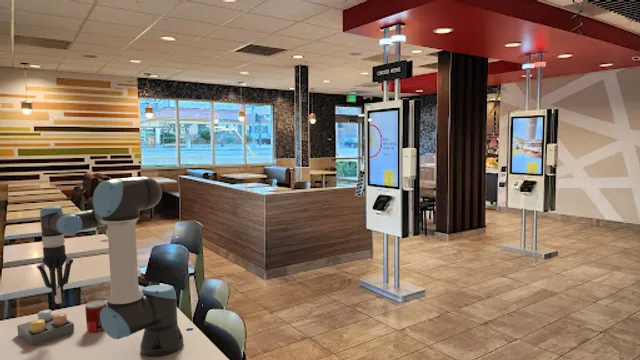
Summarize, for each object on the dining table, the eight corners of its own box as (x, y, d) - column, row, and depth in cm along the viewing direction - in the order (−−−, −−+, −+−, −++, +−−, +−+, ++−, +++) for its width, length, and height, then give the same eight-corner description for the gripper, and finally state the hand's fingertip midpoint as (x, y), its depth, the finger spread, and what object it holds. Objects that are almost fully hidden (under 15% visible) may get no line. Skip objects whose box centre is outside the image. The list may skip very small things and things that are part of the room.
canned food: (99, 333, 178) (98, 307, 177) (82, 332, 180) (80, 306, 179) (112, 325, 186) (110, 300, 185) (95, 324, 187) (93, 299, 186)
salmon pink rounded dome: (69, 323, 179) (68, 314, 179) (56, 327, 176) (55, 318, 175) (64, 320, 183) (63, 312, 182) (51, 324, 179) (50, 315, 179)
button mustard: (47, 330, 173) (46, 321, 173) (33, 334, 170) (32, 325, 169) (42, 326, 176) (42, 318, 176) (29, 331, 173) (28, 322, 172)
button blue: (53, 319, 183) (53, 311, 183) (40, 323, 180) (40, 315, 179) (49, 316, 186) (48, 308, 186) (36, 320, 183) (35, 312, 182)
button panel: (74, 332, 180) (73, 323, 179) (32, 346, 168) (31, 336, 168) (58, 322, 190) (57, 313, 190) (18, 335, 179) (17, 325, 178)
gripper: (67, 240, 183) (71, 295, 186) (31, 247, 173) (36, 305, 176) (75, 243, 179) (79, 299, 181) (38, 250, 169) (43, 309, 171)
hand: (58, 302), depth 178 cm, fingers closed
